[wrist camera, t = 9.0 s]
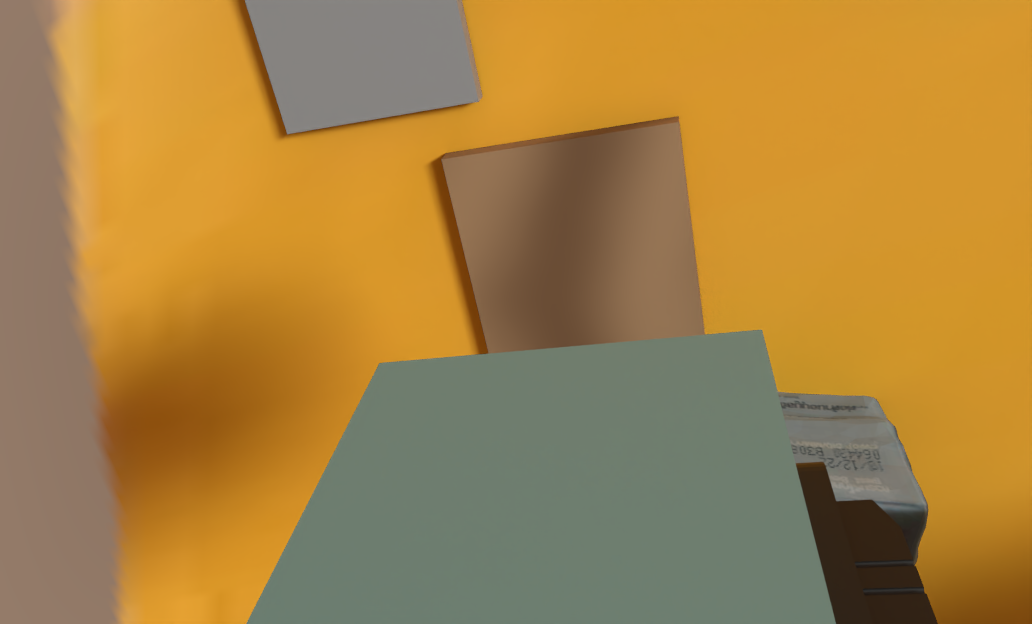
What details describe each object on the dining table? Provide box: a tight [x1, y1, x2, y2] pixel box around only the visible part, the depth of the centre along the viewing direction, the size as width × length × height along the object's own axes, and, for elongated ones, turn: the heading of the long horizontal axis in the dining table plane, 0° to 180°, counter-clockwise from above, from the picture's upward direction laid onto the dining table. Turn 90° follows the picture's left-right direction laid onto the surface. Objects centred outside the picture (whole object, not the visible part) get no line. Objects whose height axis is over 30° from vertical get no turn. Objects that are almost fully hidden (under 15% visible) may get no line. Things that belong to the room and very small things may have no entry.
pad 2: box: [441, 117, 705, 354], centre depth 27 cm, size 7×7×1 cm
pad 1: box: [245, 0, 482, 134], centre depth 25 cm, size 6×6×1 cm
